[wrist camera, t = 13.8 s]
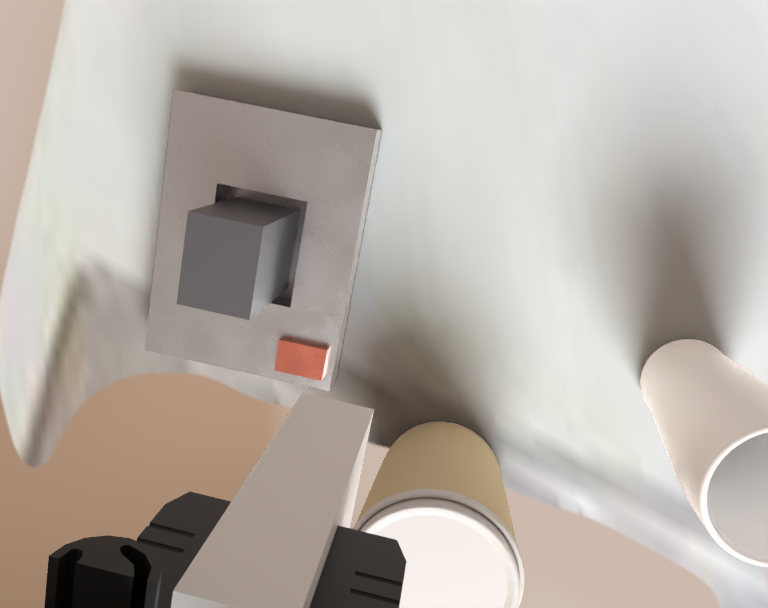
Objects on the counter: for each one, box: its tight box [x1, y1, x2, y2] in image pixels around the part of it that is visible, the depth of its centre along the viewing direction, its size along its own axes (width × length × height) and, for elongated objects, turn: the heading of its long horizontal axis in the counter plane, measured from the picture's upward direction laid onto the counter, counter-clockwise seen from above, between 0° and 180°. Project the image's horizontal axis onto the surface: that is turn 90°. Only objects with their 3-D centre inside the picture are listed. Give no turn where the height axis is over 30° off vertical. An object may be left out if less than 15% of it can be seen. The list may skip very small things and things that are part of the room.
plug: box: [177, 197, 300, 320], centre depth 41 cm, size 5×4×8 cm
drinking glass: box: [640, 339, 768, 567], centre depth 37 cm, size 7×7×15 cm
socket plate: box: [145, 90, 382, 391], centre depth 44 cm, size 16×12×3 cm
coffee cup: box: [353, 421, 524, 608], centre depth 42 cm, size 9×9×12 cm
